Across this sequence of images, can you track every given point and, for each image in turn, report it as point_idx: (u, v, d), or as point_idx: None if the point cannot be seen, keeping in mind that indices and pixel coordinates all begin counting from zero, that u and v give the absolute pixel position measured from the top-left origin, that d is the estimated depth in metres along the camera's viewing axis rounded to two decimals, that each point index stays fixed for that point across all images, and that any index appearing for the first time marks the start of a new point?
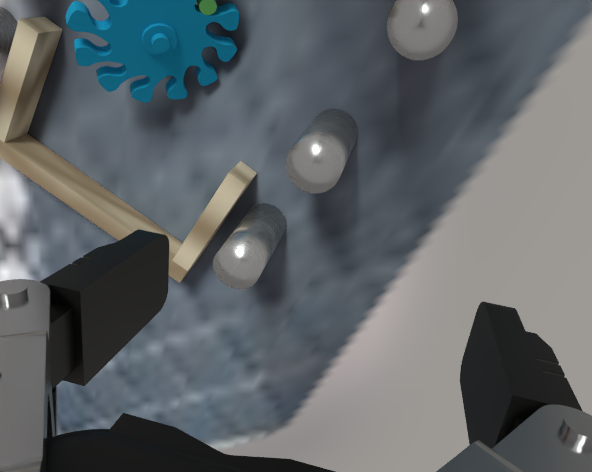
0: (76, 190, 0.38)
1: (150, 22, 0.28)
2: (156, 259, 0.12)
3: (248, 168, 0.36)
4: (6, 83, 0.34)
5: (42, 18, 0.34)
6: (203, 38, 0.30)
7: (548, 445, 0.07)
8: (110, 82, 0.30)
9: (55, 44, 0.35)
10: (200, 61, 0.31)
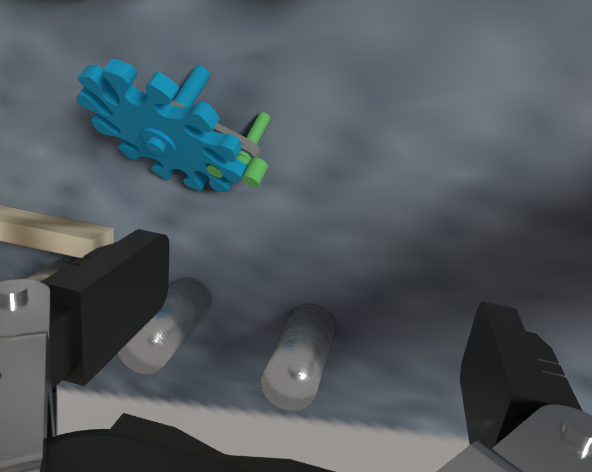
0: None
1: (166, 134, 0.26)
2: (156, 259, 0.12)
3: (112, 239, 0.34)
4: None
5: None
6: (188, 169, 0.29)
7: (548, 445, 0.07)
8: (87, 103, 0.27)
9: None
10: (168, 167, 0.30)
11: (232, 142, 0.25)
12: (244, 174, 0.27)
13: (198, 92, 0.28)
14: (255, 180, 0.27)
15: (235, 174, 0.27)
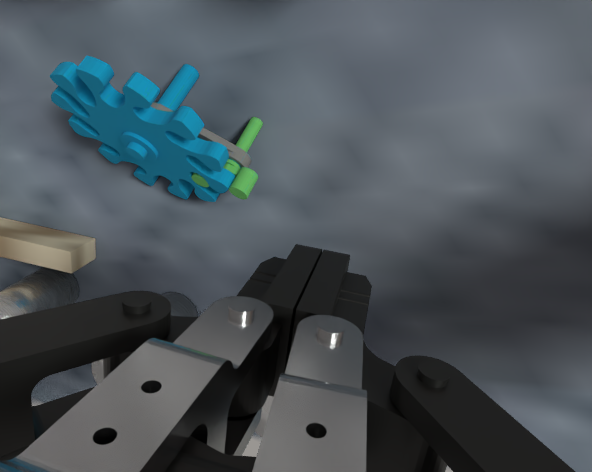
0: None
1: (147, 139, 0.24)
2: None
3: (93, 250, 0.32)
4: None
5: None
6: (172, 177, 0.27)
7: (317, 351, 0.08)
8: (62, 103, 0.24)
9: None
10: (151, 174, 0.28)
11: (219, 151, 0.23)
12: (231, 185, 0.25)
13: (185, 94, 0.26)
14: (243, 192, 0.24)
15: (221, 185, 0.25)
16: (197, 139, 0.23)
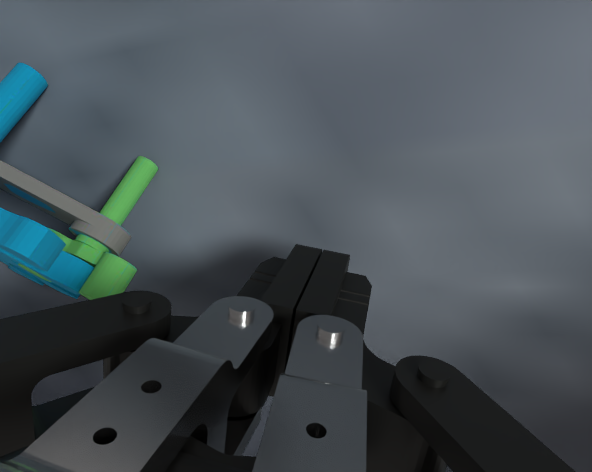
0: None
1: None
2: None
3: None
4: None
5: None
6: None
7: (317, 351, 0.08)
8: None
9: None
10: None
11: (30, 238, 0.11)
12: (82, 288, 0.13)
13: (15, 115, 0.15)
14: None
15: (64, 285, 0.14)
16: None
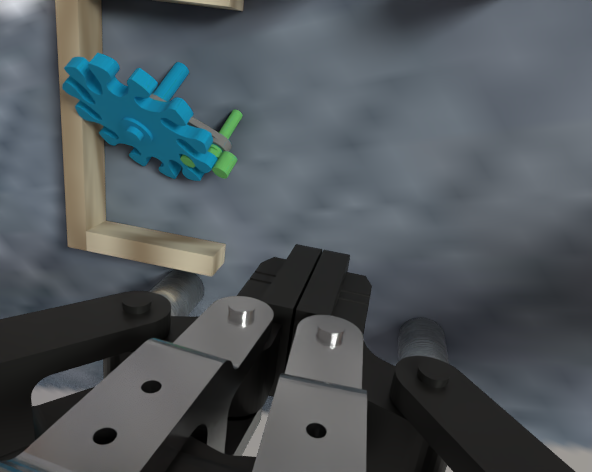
0: None
1: (144, 124, 0.28)
2: None
3: (223, 255, 0.35)
4: None
5: None
6: (163, 158, 0.31)
7: (317, 351, 0.08)
8: (71, 91, 0.29)
9: (223, 8, 0.29)
10: (145, 155, 0.32)
11: (204, 136, 0.27)
12: (214, 166, 0.29)
13: (176, 87, 0.31)
14: (224, 172, 0.29)
15: (206, 165, 0.29)
16: (187, 126, 0.28)
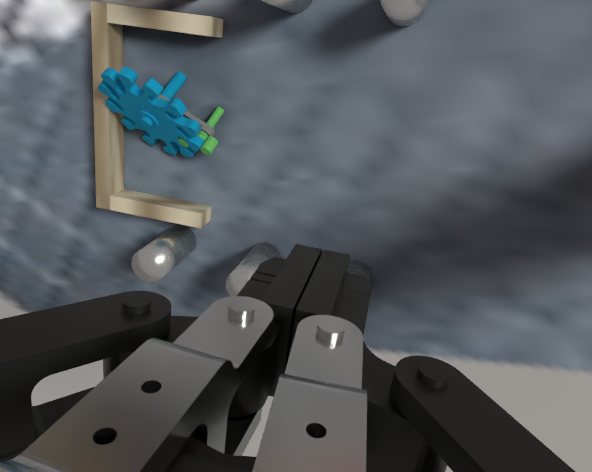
0: None
1: (153, 115, 0.41)
2: None
3: (210, 214, 0.48)
4: (157, 14, 0.40)
5: (221, 20, 0.41)
6: (166, 139, 0.44)
7: (317, 351, 0.08)
8: (104, 90, 0.41)
9: None
10: (153, 137, 0.45)
11: (194, 125, 0.40)
12: (201, 146, 0.42)
13: (177, 89, 0.43)
14: (208, 150, 0.42)
15: (195, 145, 0.42)
16: (182, 117, 0.40)
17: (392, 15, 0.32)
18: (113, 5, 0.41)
